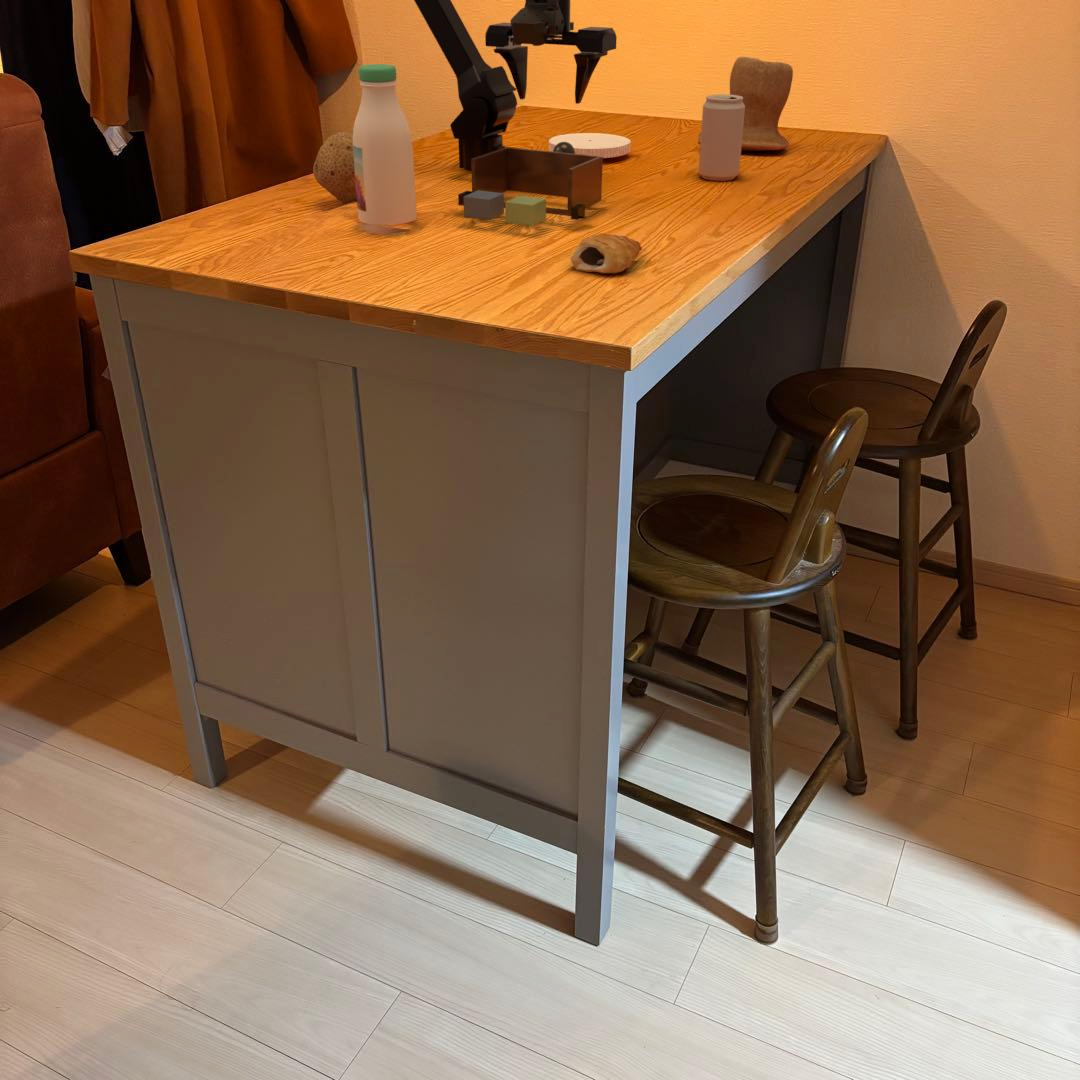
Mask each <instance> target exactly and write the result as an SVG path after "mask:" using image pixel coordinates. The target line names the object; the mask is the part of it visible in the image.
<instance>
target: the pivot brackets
mask: <svg viewBox="0 0 1080 1080" xmlns="http://www.w3.org/2000/svg"><path fill="white" fill-rule="evenodd" d="M471 193H472V190H466V191H463V192H460V193H458V194H457V196H458V202H457V204H458V206H463V207H464V196H466V195H468V194H471ZM570 219H571V220H575V221H577V220H580V219H581V220H582V219H583V220H585V219H587V216H586V209H585V205H583V204H578V205H576V206H574V207H572V208H571V216H570Z"/></svg>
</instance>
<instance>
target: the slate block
mask: <svg viewBox="0 0 1080 1080" xmlns="http://www.w3.org/2000/svg"><path fill="white" fill-rule="evenodd" d="M504 193H505V192H503V193H497V192H488V191H480V190H478V191H475V192H473V193H471V194H468V195H466V196H464V206H463V217H464V218H471V219H478V220H487V221H491V220H493V219H496V218H498V217H500V216H502V215H504V214H505V208H504V202H505V194H504Z"/></svg>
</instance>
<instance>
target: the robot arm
mask: <svg viewBox="0 0 1080 1080" xmlns="http://www.w3.org/2000/svg"><path fill="white" fill-rule="evenodd" d="M413 1H414V3H415V5H416V6H417V8H418V10H419V12H420V15H422V18H423V19H424V21H425V23H426V24H427V26H428V28H429V30H430V32H431V34H432V35H433V37H434V39H435V41H436V43H437V44H438V46H439V48H440V50H441V52H442V53H443V55H444V57H445V59H446V60H447V63H448V65H449V67H450V68H451V69H452V72H453V73H454V75H455V78H456V84H457V93H458V99H459V102H460V104H461V107H462V110H461V112H460V113H459V114H458V115H457V116H456V118H455V119H454V120H453V121H452V122H451V123H450V129H451V132H452V135H453V138H454V139H457V140H458V141H457V142H458V166H459V169H463V170H465V171H468V172H472V169H471V159H473V158H475V157H478V156H481V155H484V154H487V153H490V152H493V151H496V150H499V149H502V148H505V147H506V146H505V145H503V144H504V142H503V133H505V132H507V129H508V126H509V125H508V124H509V123H510V121H511V120H512V119H513V118H514V116H515V114H516V110H517V105H518V101H517V97H516V94H515V91H516V93H517V95H518V98H519V99H520V100H524V99H526V95H527V88H528V86H527V84H528V57H529V56H528V55H529V54H528V53H529V46H528V45H532V46H533V47H540V46H544V45H557V46H574V47H576V48H577V49H578V50H579V52H578V53H574V54H573V58H574V61H575V64H576V71H575V86H574V103H575V104H577V105H579V104H581V103H582V101H583V99H584V96H585V94H586V90H587V88H588V85H589V83H590V81H591V78H592V77H593V76H592V75H593V73H594V72H595V70H596V67H597V65H598V64H599V62H600V60H601V59H602V57H606V56H608V53H609V52H610V51H614V50H617V39H618V38H617V34H616V31H615V30H614V28H613V27H604V26H602V27H601V26H587V27H584V28H579V29H577V31H574V29H575V27H574V26H575V22H574V21H571V0H525V1H524V2H525V3H524V6H523V7H522V8H520V9H519V10H518V11H517V12H516V14H515V15H513V17H512V18H510V22H500V23H495V24H489V25H488V27H487V29H486V30H485V33H484V35H485V36H484V38H485V42H484V43H485V47H489V48H490V47H492V48H493V52H494V54H499V55H500V57H502V59H503V60H504V61H505V63H506V65H507V67H508V69H509V71H510V74H511V77H512V80H513V83H514V85H513V84H512V83H511V81H510V79H509V77H508V74H507V72H506V70H505V68H504V67H503V66H502V65H499V66H496V67H492V66H490V65H489V64H488V63H486V61H485V60H484V59H483V56H482V55H481V53H480V51H479V49H478V48H477V46H476V44H475V42H474V40H473V38H472V37H471V35H470V33H469V31H468V30H467V27H466V26H465V24H464V22H463V20H462V18H461V16H460V15H459V13H458V11H457V9H456V8H455V5H454V3H453V2H452V0H413Z"/></svg>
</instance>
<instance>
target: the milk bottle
mask: <svg viewBox="0 0 1080 1080" xmlns="http://www.w3.org/2000/svg"><path fill="white" fill-rule="evenodd" d="M358 77H359V85H360V86H361V100H360V105H359V108H358V111H357V114H356V117H355V120H354V124H353V129H352V134H353V156H354V170H355V183H356V195H357V201H356V206H357V217H358V221H359V223H358V225H359V227H360V229H361V230H362V231H364V232H366V233H370V234H377V235H393V234H401V233H407V232H410V231H411V229H406V228H399V227H393V226H396V225H404V224H407V223H411V222H413V221H415V220H417V218H418V215H417V214H418V213H417V212H418V211H417V195H416V181H415V180H416V178H415V161H414V150H413V149H414V148H413V138H412V131H411V127H410V124H409V121H408V119H407V117H406V115H405V114H404V111H403V109H402V107H401V105H400V102H399V100H398V96H397V92H396V86H397V84H398V83H397V69H396V66H395V65H392V64H388V63H387V64H384V63H374V64H373V63H371V64H364V65H361V66H359V67H358ZM390 226H392V227H390Z"/></svg>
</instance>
